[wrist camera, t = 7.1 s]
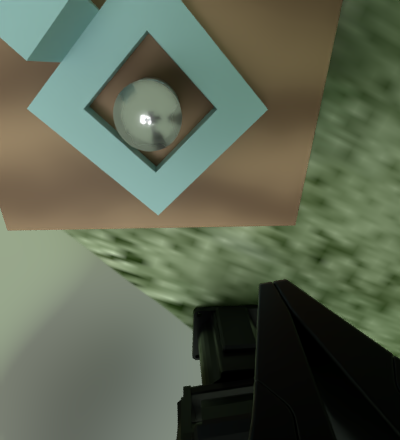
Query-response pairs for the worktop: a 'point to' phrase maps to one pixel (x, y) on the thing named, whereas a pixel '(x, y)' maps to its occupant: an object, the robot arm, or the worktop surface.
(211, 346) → the robot arm
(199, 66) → the flange
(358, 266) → the worktop surface
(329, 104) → the worktop surface
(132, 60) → the board
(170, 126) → the post
